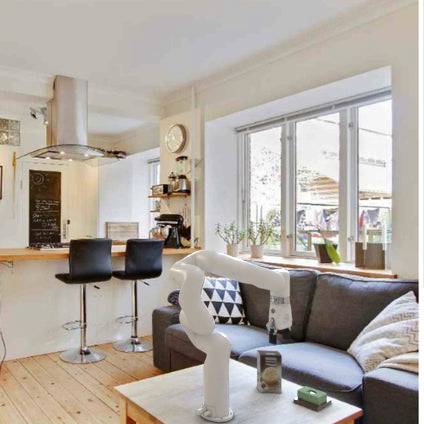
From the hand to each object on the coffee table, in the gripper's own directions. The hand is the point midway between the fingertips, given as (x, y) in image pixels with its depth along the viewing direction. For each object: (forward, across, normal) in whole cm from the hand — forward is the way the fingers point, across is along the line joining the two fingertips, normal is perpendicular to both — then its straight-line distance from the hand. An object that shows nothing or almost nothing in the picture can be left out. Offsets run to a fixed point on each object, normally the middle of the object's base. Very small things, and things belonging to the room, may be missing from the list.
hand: (279, 341), depth 172 cm
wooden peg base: (+24, +8, -10) cm, 27 cm away
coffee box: (+24, +5, +8) cm, 26 cm away
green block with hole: (+22, +8, -10) cm, 26 cm away
